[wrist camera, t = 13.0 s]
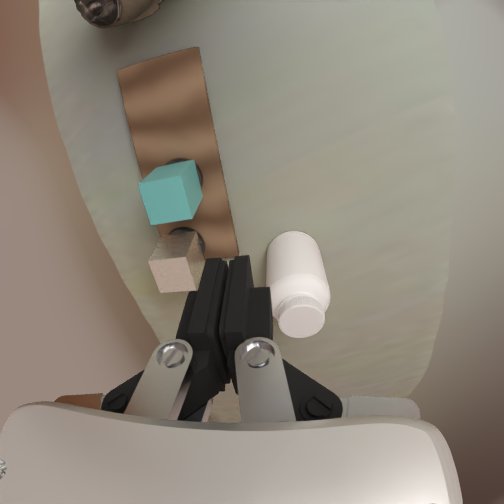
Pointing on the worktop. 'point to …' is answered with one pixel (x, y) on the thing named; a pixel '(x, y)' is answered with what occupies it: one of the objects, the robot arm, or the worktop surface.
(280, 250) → the pill bottle
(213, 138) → the board
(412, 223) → the worktop surface
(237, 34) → the worktop surface
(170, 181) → the matte teal square block
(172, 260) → the pale wooden cube
